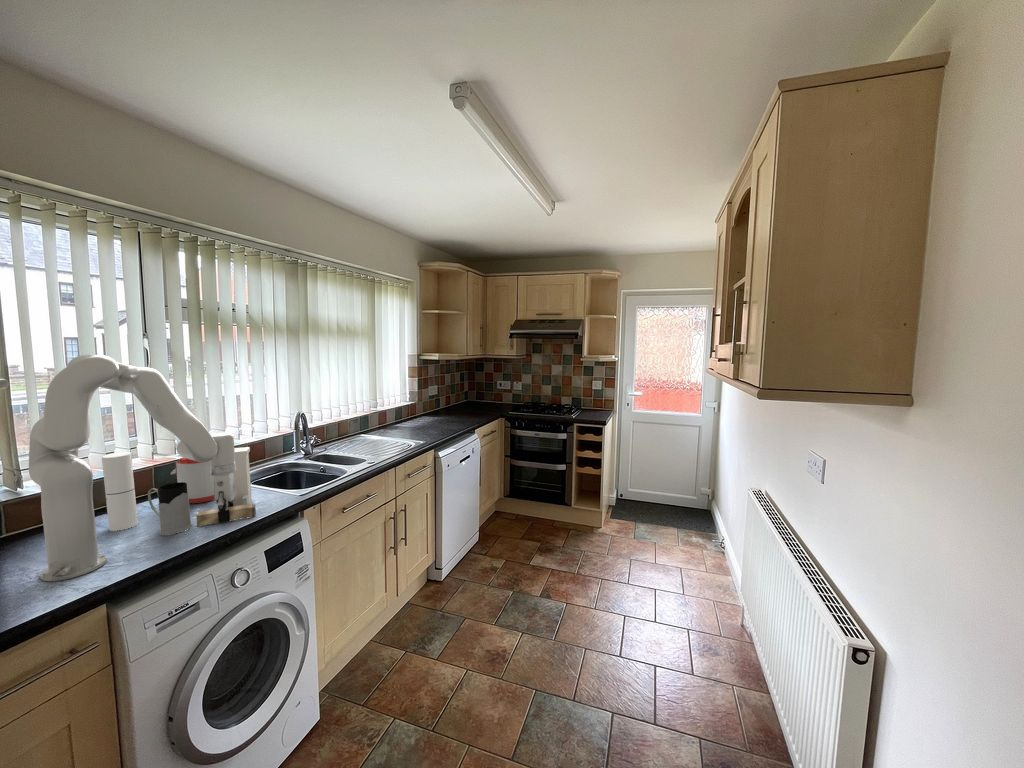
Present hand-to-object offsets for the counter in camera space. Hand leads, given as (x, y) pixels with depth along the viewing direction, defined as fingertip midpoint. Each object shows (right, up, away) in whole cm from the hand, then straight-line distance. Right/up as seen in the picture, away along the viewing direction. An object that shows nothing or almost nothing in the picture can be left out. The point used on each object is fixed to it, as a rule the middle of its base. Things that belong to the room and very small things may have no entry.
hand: (226, 517), depth 147 cm
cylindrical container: (-32, -2, -5) cm, 32 cm away
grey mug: (-14, -2, -7) cm, 16 cm away
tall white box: (-4, 0, +12) cm, 12 cm away
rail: (0, -1, 0) cm, 1 cm away
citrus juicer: (-24, +1, +20) cm, 31 cm away
